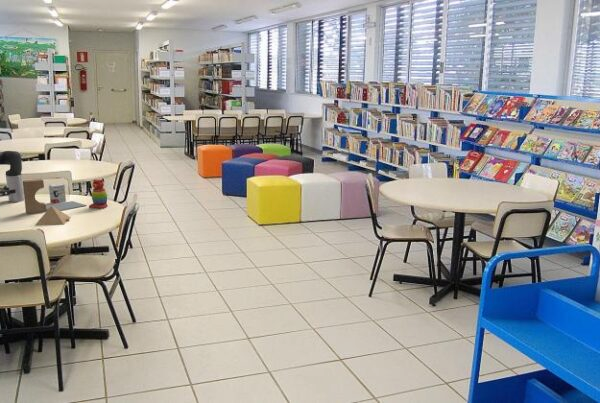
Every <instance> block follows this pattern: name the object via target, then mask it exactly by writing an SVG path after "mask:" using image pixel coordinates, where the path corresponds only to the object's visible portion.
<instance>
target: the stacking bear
mask: <svg viewBox="0 0 600 403" xmlns="http://www.w3.org/2000/svg"><path fill="white" fill-rule="evenodd" d="M104 185H105V182H104V181H103V179H96V178H95V179H93V181H92V185H91V186H92V188H93V189H92V192H91V201H92V203H91V204H89V206H88V207H89V209H97V210H103V209H106V208H107V207H108V193H107V191H106V189H105V188H104Z"/></svg>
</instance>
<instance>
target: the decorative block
mask: <svg viewBox="0 0 600 403" xmlns="http://www.w3.org/2000/svg"><path fill="white" fill-rule="evenodd" d="M22 185H23V194H24V200H23V201H24V206H25V213H26V214H27V215H30V214H38V213H39V214H40V212H41V213H46V211H47V210H46V206H47V205H46V203H45V202H40V201H38V200H37V199H36V194H37V192H38V191H39V190H42V189H44V188H45V184H44V179H42V178H36V179H25V180H23V179H22Z"/></svg>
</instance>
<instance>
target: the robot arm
mask: <svg viewBox="0 0 600 403" xmlns="http://www.w3.org/2000/svg"><path fill="white" fill-rule="evenodd" d="M1 165H2V166H3V165H4V166H5V165H7V166H9V170H8V169H7V170H6V171H5V180H6V187H0V198H1V197H8V202H10V203H18V202H23V201H25V200H24V191H23V179H22V178H23V176H22V171H23V162H22V155H21V153H20V152H19V151H15V150H4V151H1V152H0V166H1Z"/></svg>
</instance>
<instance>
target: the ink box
mask: <svg viewBox="0 0 600 403" xmlns="http://www.w3.org/2000/svg"><path fill="white" fill-rule="evenodd" d="M48 189H49V200H50V204H52V205H54V204H59V203H65V202H67V199H66V198H67V197H66V186H65V184H63V183H56V184H55V183H53V184H49V185H48Z"/></svg>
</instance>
